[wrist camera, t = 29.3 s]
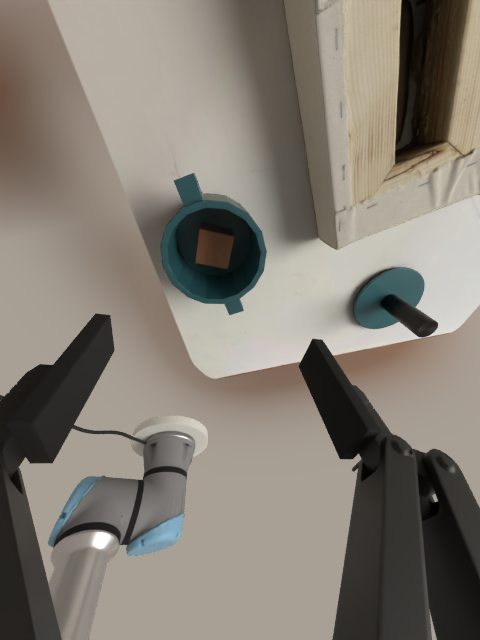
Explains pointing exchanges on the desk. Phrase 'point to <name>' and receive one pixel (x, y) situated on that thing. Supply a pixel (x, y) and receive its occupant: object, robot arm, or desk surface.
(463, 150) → the box
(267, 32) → the desk surface
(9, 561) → the robot arm
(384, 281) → the lid
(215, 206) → the pot
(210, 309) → the desk surface
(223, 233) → the block
